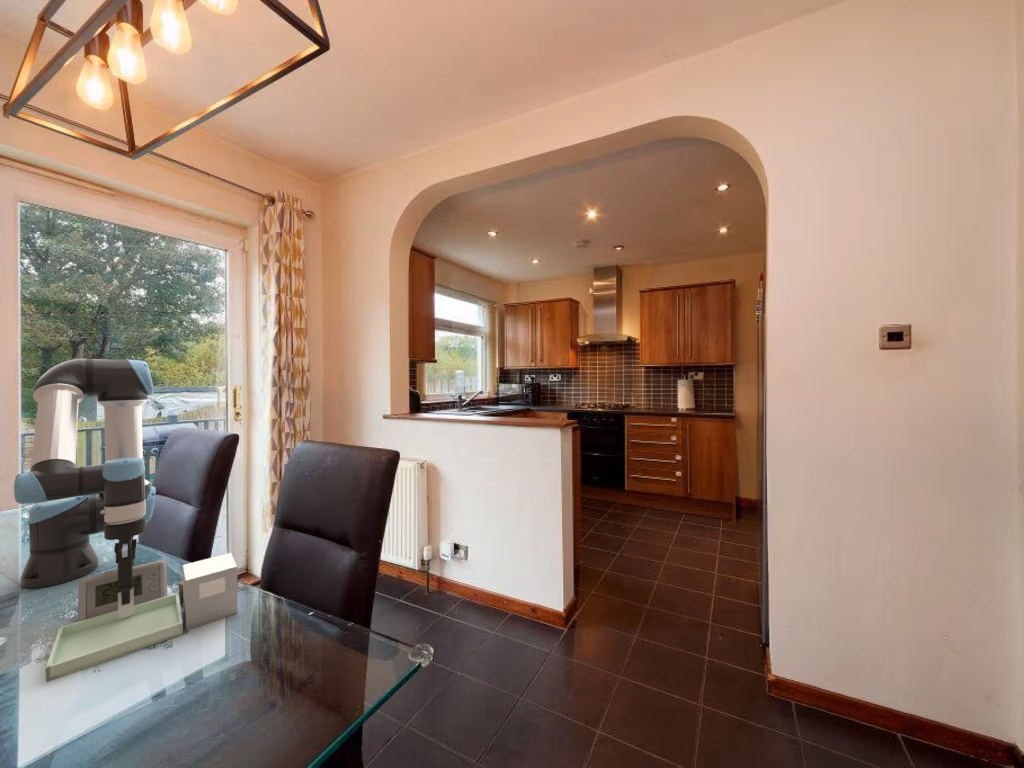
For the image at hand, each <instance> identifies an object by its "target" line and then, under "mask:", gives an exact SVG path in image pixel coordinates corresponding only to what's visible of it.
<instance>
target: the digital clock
mask: <svg viewBox="0 0 1024 768" xmlns="http://www.w3.org/2000/svg"><path fill="white" fill-rule="evenodd" d="M134 565H135V564H134ZM167 566H168V565H167V560H165V559H160V560H156V561H151V562H147V563H146V562H144V563H139V564H136V565H135V566H132V578H133V589H134V605H138V604H141V603H145V602H148V601H152V600H155V599H159V598H162V597H166V596H168V567H167ZM124 586H126V585H124ZM121 587H122V586H121ZM117 589H118V569H115V570H112V571H107V572H103V573H101V574H97V575H93V576H88V577H85V578H81V579H80V581H79V582H78V592H77V593H78V594H77V596H78V597H77V602H78V603H77V622H79V621H83V620H86V619H89V618H93V617H96V616H100V615H103V614H107V613H110V612H114V611H117V610H118V593H116V594H114V591H116V590H117Z"/></svg>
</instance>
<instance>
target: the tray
mask: <svg viewBox="0 0 1024 768" xmlns="http://www.w3.org/2000/svg"><path fill="white" fill-rule="evenodd" d="M182 614H183V613H182V609H181V602H180V600H179V592H177V593H172V594H169V595H167V596H166V597H162V598H159V599H155V600H152V601H148V602H145V603H141V604H138V605H134V615H131V616H127V617H124V618H121V619H118V610H117V611H114V612H110V613H107V614H103V615H100V616H96V617H93V618H89V619H86V620H83V621H79V622H78V621H77V622H73V623H69V624H66V625H61V626H60V627H58V631H57V633H56V637H55V640H54V642H53V645H52V648H51V651H50V654H49V657H48V659H47V662H46V666H45V668H44V669H45V682H46V683H47V682H49V681H53V680H56V679H59V678H62V677H65V676H68V675H71V674H73V673H76V672H79V671H82V670H84V669H88V668H91V667H94V666H96V665H100V664H102V663H105V662H108V661H110V660H111V661H112V660H113V659H116V658H120V657H123V656H125V655H128V654H131V653H134V652H136V651H139V650H143V649H145V648H148V647H152V646H154V645H157V644H160V643H162V642H166V641H168V640H171V639H174V638H177V637H180V636H183V635H184V633H183V632H184V629H183V626H184V625H183V615H182Z"/></svg>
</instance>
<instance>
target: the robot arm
mask: <svg viewBox="0 0 1024 768" xmlns="http://www.w3.org/2000/svg"><path fill="white" fill-rule="evenodd" d="M153 386H154V385H153V380H152V375H151V370H150V367H149V364H148V363H147V361H144V360H139V359H130V358H129V359H127V358H126V359H118V358H117V359H113V358H112V359H110V358H109V359H104V358H103V359H101V358H75V359H74V358H73V359H69V360H66V361H63V362H61V363H59V364H56V365H55V366H53V367H51V368H50V369H48V370H47V371H46V372H45V373H43V374H42V375H41V376H40V377H39V379H38V380H37V382H36V383H35V385H34V388H33V394H32V398H33V400H34V401H35V402H36V403H37V408H36V416H35V427H34V435H33V441H32V442H33V443H32V444H33V445H32V450H31V451H32V453H31V462H30V469H29V470H30V471H26V472H22V473H18V474H16V476H15V479H14V483H13V495H14V496H13V497H14V500H15V502H16V503H17V504H20V505H26V504H34V505H32V506H31V507H30V509H29V513H28V515H29V516H28V520H27V524H28V530H29V531H28V533H29V558H27V559H28V560H27V562H26V564H25V566H24V569H23V571H22V573H21V575H20V586H21V585H22V586H23V587H22V586H21V587H22V588H26V589H37V588H38V589H40V588H46V587H50V586H56V585H59V584H64V583H67V582H71V581H73V580H77V579H79V578H82V577H83V576H86V575H88V574H90V573H92V572H94V571H95V570H96V569H98V567H99V557H98V555H97V553H96V551H95V549H94V548H93V546H92V544H91V543H90V542H91V541H90V535H95V534H100V533H103V538H104V539H105V540H107V541H115V540H116V541H117V540H118V542H115V543H114V547H113V548H114V549H113V550H114V554H115V563H116V564H117V570H118V589H117V590H116V591H114V594H116V593H118V619H121V618H124V617H127V616H131V615H134V589H133V578H132V566H135V563H134V562H135V559H136V554H137V553H136V552H137V550H136V549H137V543H138V542H137V541H138V540H137V538H135V539H134V537H135V536H138V535H141V534H143V533H144V532H145V531H146V529H147V528H146V527H147V523H148V522H150V520H151V519H152V517H153V513H154V509H155V502H156V493H157V492H156V489H157V488H156V487H155V486H152V485H151V484H150V481H149V480H147V479H145V478H146V474H145V473H146V466H145V460H144V459H143V458H144V456H143V454H144V453H143V413H142V410H143V405H145V403H146V402H148V400H149V399H148V398H149V397H148V396H153V395H154V387H153ZM85 397H96V402H97V403H98V404H99V405H101V406H102V407H103V409H104V410H103V411H104V414H103V416H104V417H103V418H104V419H103V420H104V454H105V455H104V459H105V462H104V463H102V464H95V465H86V466H83V465H82V466H76V464H77V445H78V444H77V442H78V419H79V417H78V416H79V404H80V403H81V402H82V401H83V400H84V398H85ZM124 585H126V586H124ZM121 586H122V587H121Z"/></svg>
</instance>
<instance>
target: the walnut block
mask: <svg viewBox="0 0 1024 768" xmlns="http://www.w3.org/2000/svg"><path fill="white" fill-rule="evenodd" d="M178 593H179V600H180V604H183V580H182V581H180V582H178Z"/></svg>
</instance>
